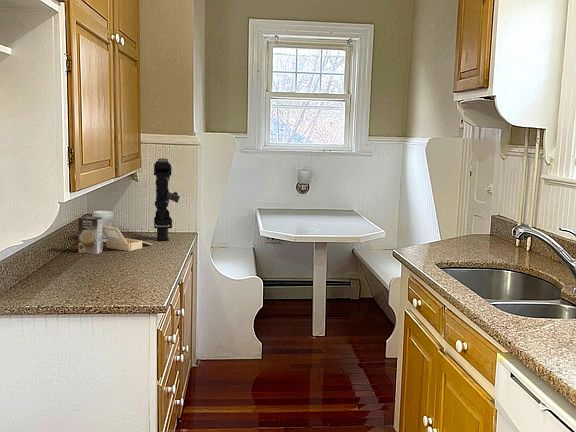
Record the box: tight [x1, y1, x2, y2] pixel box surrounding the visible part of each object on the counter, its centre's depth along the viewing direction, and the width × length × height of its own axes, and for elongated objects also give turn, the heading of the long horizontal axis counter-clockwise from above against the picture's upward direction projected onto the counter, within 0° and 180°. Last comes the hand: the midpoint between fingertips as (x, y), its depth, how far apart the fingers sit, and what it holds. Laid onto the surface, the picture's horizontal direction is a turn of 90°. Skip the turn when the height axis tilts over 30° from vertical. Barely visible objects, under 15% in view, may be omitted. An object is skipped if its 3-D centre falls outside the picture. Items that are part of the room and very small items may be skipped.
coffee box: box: [78, 215, 103, 255], centre depth 272 cm, size 9×6×16 cm
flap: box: [102, 226, 127, 243], centre depth 277 cm, size 10×12×1 cm
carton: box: [106, 237, 154, 252], centre depth 288 cm, size 18×15×4 cm
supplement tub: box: [92, 210, 114, 243], centre depth 300 cm, size 10×10×15 cm
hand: (162, 219), depth 292 cm, fingers closed
